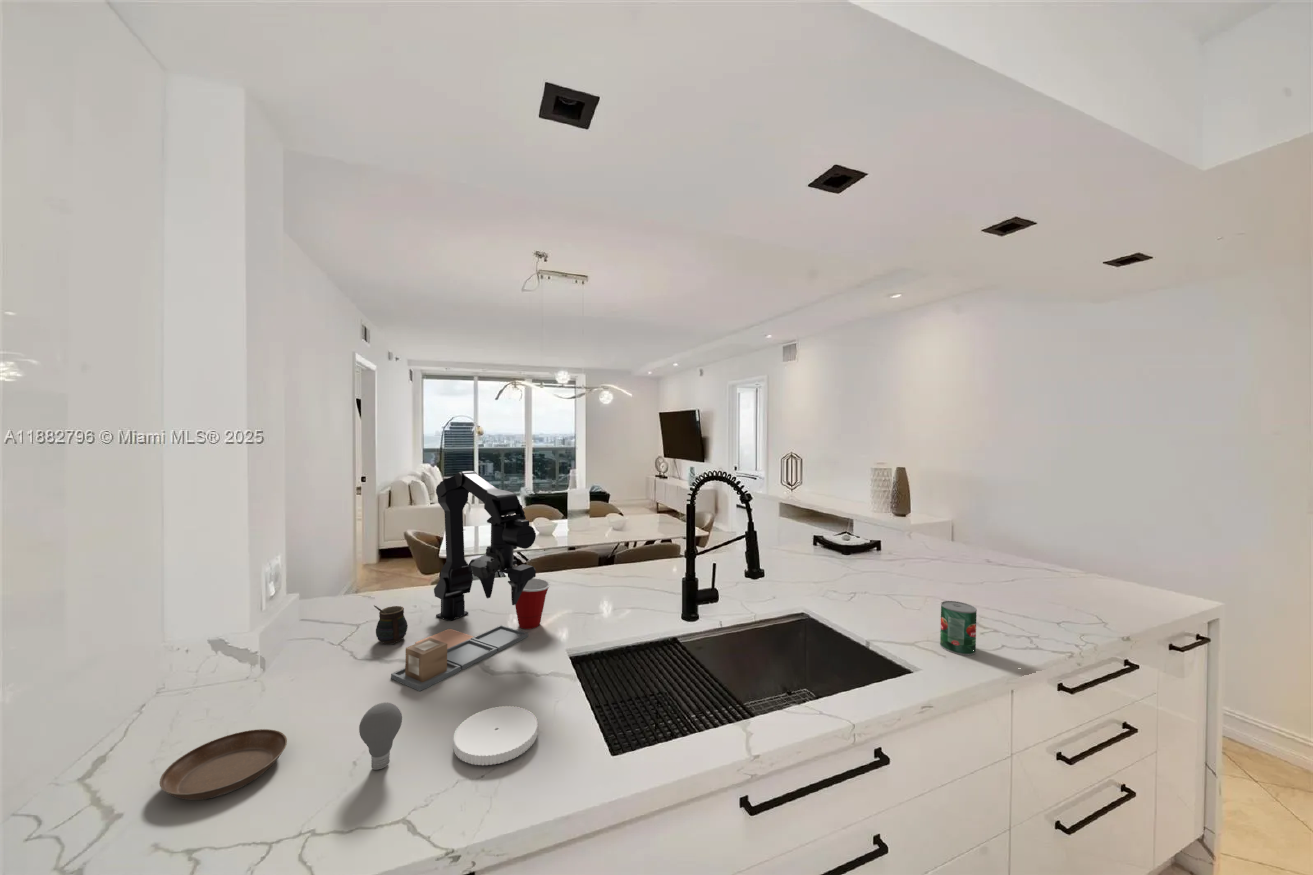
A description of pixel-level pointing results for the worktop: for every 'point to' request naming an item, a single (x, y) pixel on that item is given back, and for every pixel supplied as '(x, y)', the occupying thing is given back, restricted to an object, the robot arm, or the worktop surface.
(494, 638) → the tray
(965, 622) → the canned tomato
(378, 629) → the mate gourd
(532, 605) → the plastic cup
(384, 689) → the worktop surface
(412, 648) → the cardboard box
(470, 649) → the tray
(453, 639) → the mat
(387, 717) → the light bulb
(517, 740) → the plastic lid
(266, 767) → the saucer
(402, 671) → the tray
